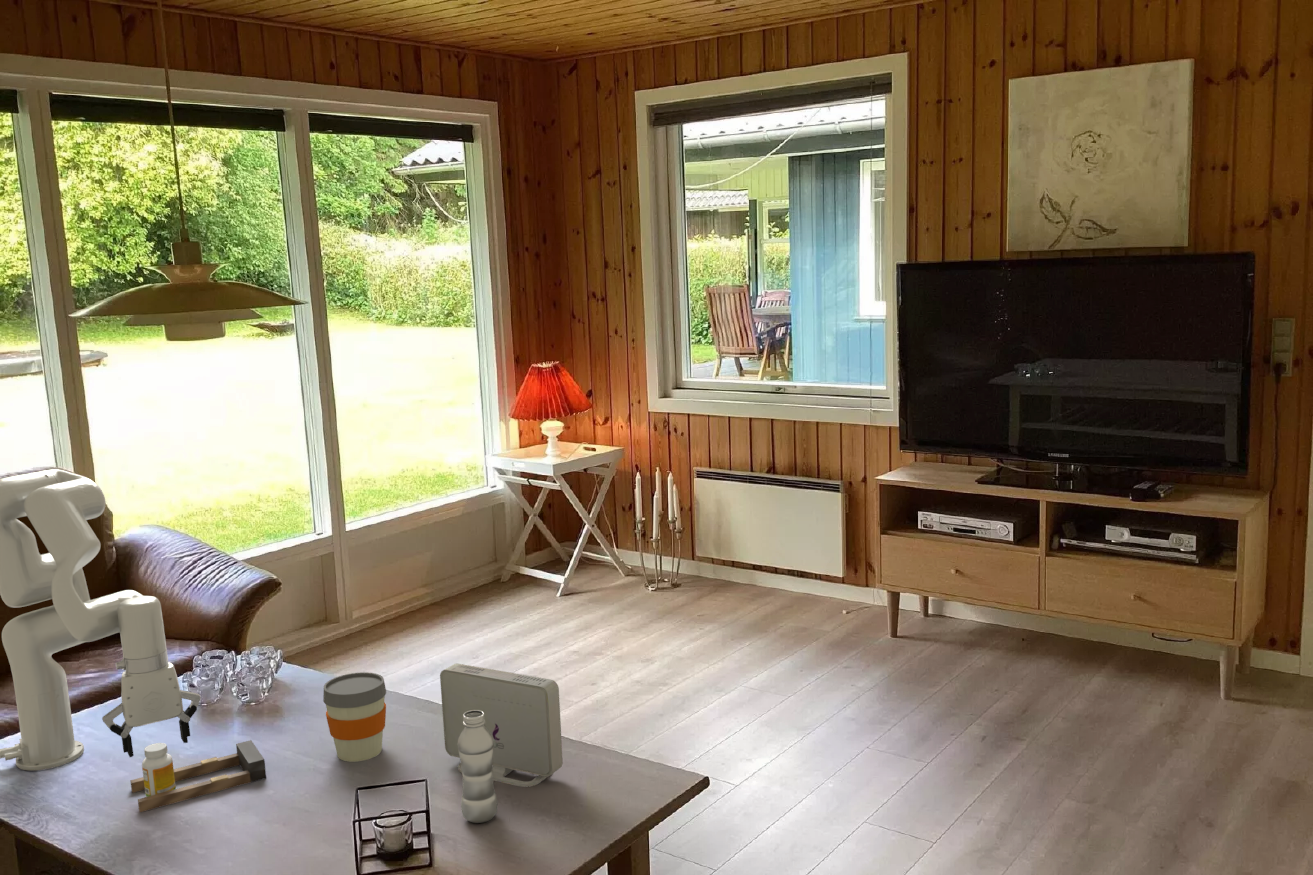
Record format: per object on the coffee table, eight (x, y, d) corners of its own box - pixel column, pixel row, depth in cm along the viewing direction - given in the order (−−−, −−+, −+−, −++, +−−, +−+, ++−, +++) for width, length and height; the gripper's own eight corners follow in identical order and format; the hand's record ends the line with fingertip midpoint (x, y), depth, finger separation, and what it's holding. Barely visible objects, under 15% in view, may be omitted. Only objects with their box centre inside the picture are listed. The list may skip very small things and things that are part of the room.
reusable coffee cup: (399, 754, 230) (393, 685, 227) (338, 771, 223) (332, 700, 221) (379, 734, 240) (374, 667, 238) (320, 749, 234) (314, 681, 231)
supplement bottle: (181, 787, 219) (176, 741, 217) (166, 801, 213) (161, 753, 212) (155, 787, 219) (149, 740, 218) (140, 800, 214) (134, 753, 212)
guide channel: (140, 812, 209) (137, 792, 209) (131, 789, 219) (129, 770, 218) (266, 778, 221) (264, 759, 221) (253, 758, 231) (251, 740, 230)
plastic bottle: (481, 806, 207) (474, 703, 204) (506, 816, 203) (499, 712, 199) (454, 820, 202) (446, 715, 199) (479, 831, 198) (472, 724, 194)
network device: (439, 768, 223) (432, 672, 220) (465, 750, 231) (459, 657, 228) (546, 792, 211) (540, 692, 208) (571, 773, 219) (566, 675, 216)
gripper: (98, 678, 204) (110, 767, 207) (198, 656, 213) (209, 741, 216) (93, 667, 210) (105, 753, 213) (191, 646, 219) (201, 729, 222)
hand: (157, 747), depth 214 cm, fingers open, 9 cm apart
